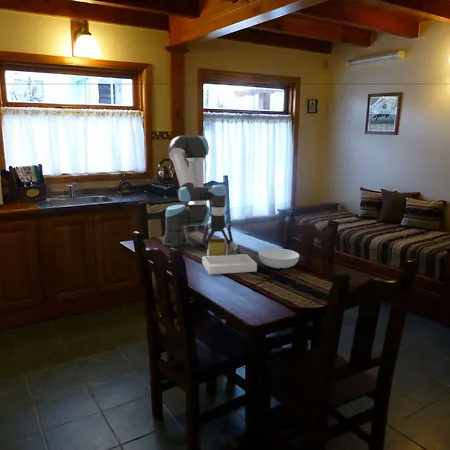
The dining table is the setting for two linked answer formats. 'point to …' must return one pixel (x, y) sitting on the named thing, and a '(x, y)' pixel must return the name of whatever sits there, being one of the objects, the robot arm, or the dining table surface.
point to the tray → (229, 264)
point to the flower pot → (217, 246)
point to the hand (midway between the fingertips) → (217, 254)
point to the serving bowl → (278, 257)
